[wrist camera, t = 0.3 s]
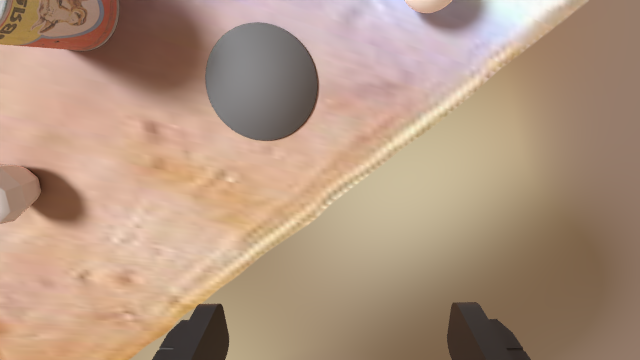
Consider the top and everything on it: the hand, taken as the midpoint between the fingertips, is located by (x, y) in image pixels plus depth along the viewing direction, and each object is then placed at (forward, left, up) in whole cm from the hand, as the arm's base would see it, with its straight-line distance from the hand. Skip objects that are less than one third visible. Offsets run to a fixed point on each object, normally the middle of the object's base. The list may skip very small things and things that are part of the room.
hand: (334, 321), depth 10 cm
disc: (-6, -8, -28) cm, 30 cm away
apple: (+7, -41, -28) cm, 50 cm away
